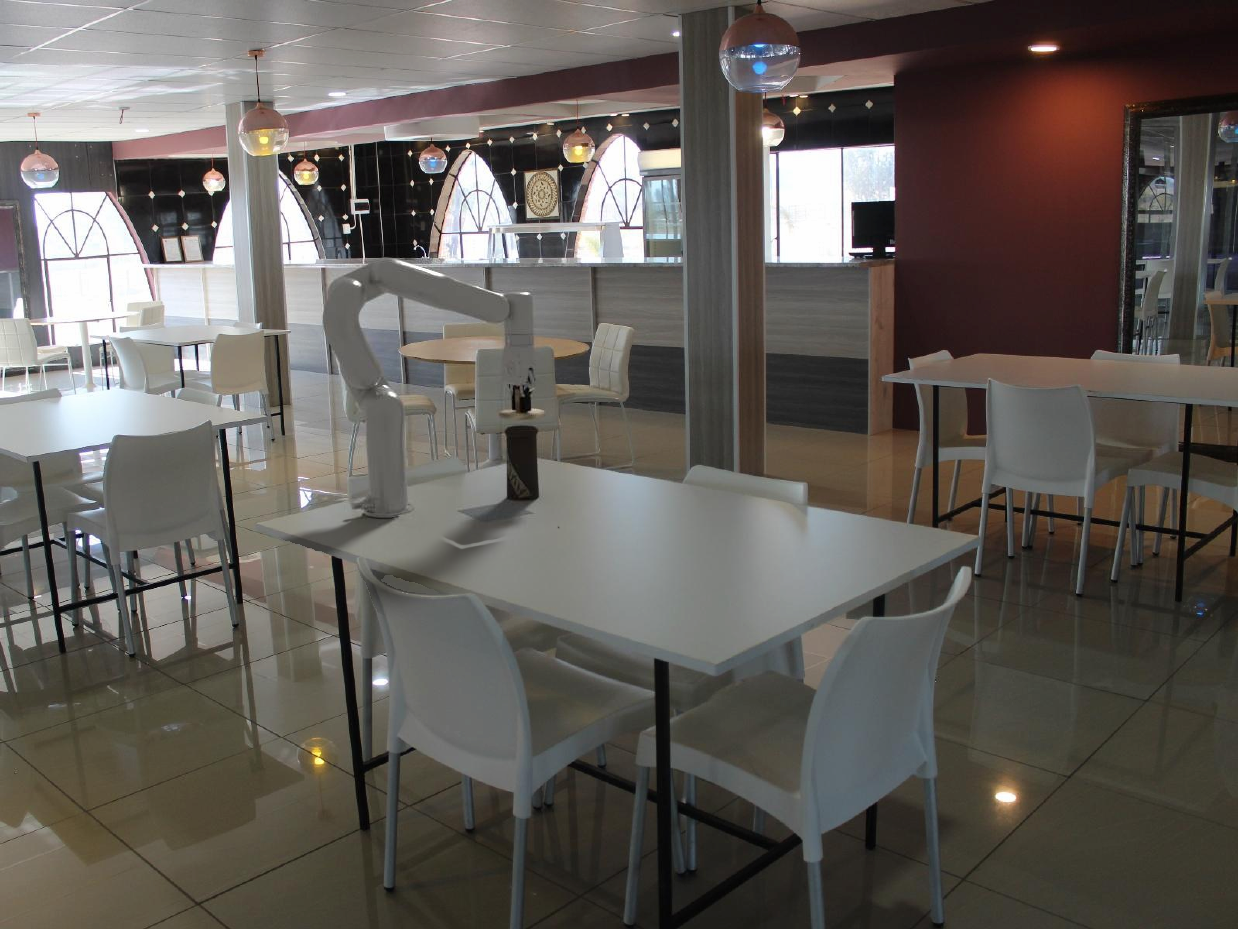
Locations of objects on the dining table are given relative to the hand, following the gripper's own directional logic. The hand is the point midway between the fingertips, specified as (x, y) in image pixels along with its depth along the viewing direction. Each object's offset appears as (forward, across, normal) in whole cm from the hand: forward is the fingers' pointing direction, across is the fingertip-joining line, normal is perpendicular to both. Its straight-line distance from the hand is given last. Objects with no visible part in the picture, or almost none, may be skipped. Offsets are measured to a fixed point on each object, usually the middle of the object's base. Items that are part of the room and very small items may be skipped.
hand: (521, 409), depth 289 cm
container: (+24, 0, 0) cm, 24 cm away
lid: (+2, 0, 0) cm, 2 cm away
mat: (+24, +9, -14) cm, 29 cm away
